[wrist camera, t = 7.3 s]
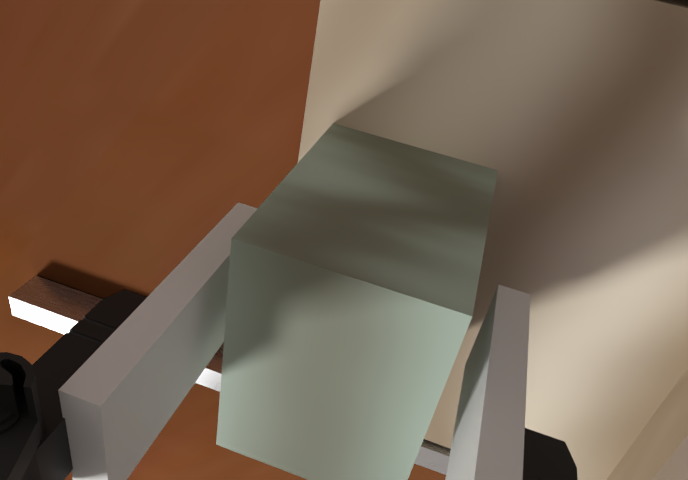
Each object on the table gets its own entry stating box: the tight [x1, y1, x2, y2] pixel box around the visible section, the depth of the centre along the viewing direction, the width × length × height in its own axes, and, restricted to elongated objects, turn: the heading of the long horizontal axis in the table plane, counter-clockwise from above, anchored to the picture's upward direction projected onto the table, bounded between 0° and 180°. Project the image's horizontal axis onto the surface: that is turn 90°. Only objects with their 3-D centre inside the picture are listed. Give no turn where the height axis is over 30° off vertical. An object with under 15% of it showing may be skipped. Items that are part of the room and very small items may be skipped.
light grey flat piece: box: [9, 276, 451, 475], centre depth 17 cm, size 30×18×2 cm, turn 79°
